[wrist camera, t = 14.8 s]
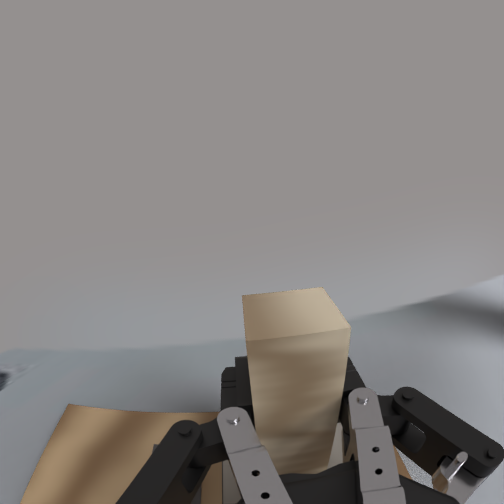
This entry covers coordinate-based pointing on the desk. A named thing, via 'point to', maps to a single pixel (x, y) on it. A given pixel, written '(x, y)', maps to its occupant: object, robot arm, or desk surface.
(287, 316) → the block
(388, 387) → the desk surface
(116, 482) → the board
